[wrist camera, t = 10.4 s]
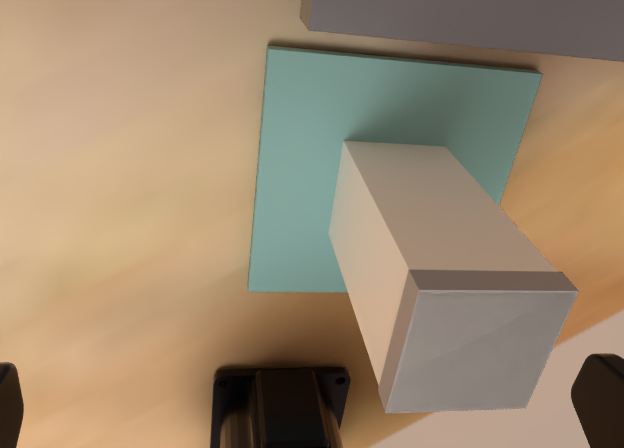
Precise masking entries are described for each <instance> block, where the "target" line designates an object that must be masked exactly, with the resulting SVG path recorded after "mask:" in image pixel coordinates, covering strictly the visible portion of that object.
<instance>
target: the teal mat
mask: <svg viewBox="0 0 624 448" xmlns="http://www.w3.org/2000/svg"><path fill="white" fill-rule="evenodd" d="M542 75H543V74H542V73H540V72H538V71H536V70H528V69H517V68H506V67H495V66H484V65H474V64H463V63H452V62H441V61H430V60H419V59H409V58H398V57H387V56H376V55H365V54H355V53H344V52H333V51H322V50H311V49H301V48H290V47H279V46H268V45H267V55H266V67H265V80H264V92H263V104H262V116H261V128H260V141H259V153H258V165H257V177H256V189H255V202H254V214H253V226H252V238H251V250H250V263H249V275H248V292H348V291H347V288H346V285H345V282H344V279H343V276H342V273H341V270H340V267H339V264H338V261H337V258H336V255H335V252H334V249H333V246H332V243H331V240H330V237H329V234H328V233H329V227H330V220H331V214H332V208H333V202H334V195H335V189H336V183H337V177H338V171H339V164H340V158H341V152H342V146H343V141H360V142H377V143H393V144H410V145H427V146H444V147H446V148H447V149H448V150H449V151H450V152H451V153H452V154H453V156H454V157H455V158H456V159H457V160H458V161H459V162H460V163H461V164H462V166H463V167H464V168H465V169H466V170H467V171H468V172H469V173H470V175H471V176H472V177H473V178H474V179H475V180H476V181H477V182H478V183H479V185H480V186H481V187H482V188H483V189H484V190H485V191H486V192H487V193H488V195H489V196H490V197H491V198H492V199H493V200H494V201H495V202H496V204H497V205H498V206H499V204H500V201H501V198H502V195H503V192H504V189H505V186H506V183H507V180H508V177H509V174H510V171H511V168H512V165H513V162H514V159H515V156H516V153H517V150H518V147H519V144H520V141H521V138H522V135H523V132H524V129H525V126H526V123H527V120H528V117H529V114H530V111H531V108H532V105H533V102H534V99H535V96H536V93H537V90H538V87H539V84H540V81H541V78H542Z"/></svg>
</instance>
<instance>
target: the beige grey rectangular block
mask: <svg viewBox="0 0 624 448" xmlns="http://www.w3.org/2000/svg"><path fill="white" fill-rule="evenodd" d="M328 234H329V237H330V240H331V243H332V246H333V249H334V252H335V255H336V258H337V261H338V264H339V267H340V270H341V273H342V276H343V279H344V282H345V285H346V288H347V291H348V294H349V297H350V300H351V303H352V306H353V309H354V312H355V315H356V318H357V321H358V325H359V328H360V331H361V334H362V337H363V340H364V343H365V346H366V349H367V352H368V355H369V358H370V361H371V364H372V367H373V370H374V373H375V376H376V379H377V382H378V385H379V388H378V393H379V396H380V399H381V402H382V405H383V408H384V411H385V414H387V413H414V412H441V411H464V410H465V411H467V410H493V409H520V408H526V407H527V405H528V402H529V400H530V398H531V396H532V393H533V391H534V389H535V387H536V385H537V382H538V380H539V378H540V376H541V374H542V371H543V369H544V367H545V365H546V363H547V360H548V358H549V356H550V354H551V352H552V349H553V347H554V345H555V343H556V341H557V338H558V336H559V334H560V332H561V330H562V327H563V325H564V323H565V321H566V319H567V316H568V314H569V312H570V310H571V307H572V305H573V303H574V301H575V299H576V296H577V294H578V292H579V291H578V289H577V288H576V287H575V286H574V285H573V284H572V283H571V282H570V281H569V279H568V278H567V277H566V276H565V275H564V274H563V273H562V272H557V270H556V269H555V268H554V267H553V266H552V265H551V264H550V263H549V262H548V260H547V259H546V258H545V257H544V256H543V255H542V254H541V253H540V251H539V250H538V249H537V248H536V247H535V246H534V245H533V244H532V243H531V241H530V240H529V239H528V238H527V237H526V236H525V235H524V234H523V233H522V231H521V230H520V229H519V228H518V227H517V226H516V225H515V224H514V222H513V221H512V220H511V219H510V218H509V217H508V216H507V215H506V214H505V212H504V211H503V210H502V209H501V208H500V207H499V206H498V205H497V204H496V202H495V201H494V200H493V199H492V198H491V197H490V196H489V195H488V193H487V192H486V191H485V190H484V189H483V188H482V187H481V186H480V185H479V183H478V182H477V181H476V180H475V179H474V178H473V177H472V176H471V175H470V173H469V172H468V171H467V170H466V169H465V168H464V167H463V166H462V164H461V163H460V162H459V161H458V160H457V159H456V158H455V157H454V156H453V154H452V153H451V152H450V151H449V150H448V149H447V148H446V147H444V146H427V145H410V144H393V143H377V142H360V141H343V146H342V152H341V158H340V164H339V171H338V177H337V183H336V189H335V195H334V202H333V208H332V214H331V220H330V227H329V233H328Z"/></svg>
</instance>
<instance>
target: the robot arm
mask: <svg viewBox="0 0 624 448" xmlns="http://www.w3.org/2000/svg"><path fill="white" fill-rule="evenodd" d="M339 377H341V378H339ZM337 378H338V379H337ZM222 380H227V381H222ZM349 385H350V375H349V372H348V370H347V369H345V368H342V367H327V368H275V369H225V370H220V371H218V372H217V373H216V374H215V375H214V379H213V400H212V420H211V441H210V448H343V446H342V441H341V437H340V432H339V430H340V426H341V421H342V417H343V412H344V407H345V403H346V398H347V394H348V389H349ZM571 399H572V403H573V405H574V408H575V410H576V413H577V415H578V418H579V420H580V423H581V425H582V428H583V430H584V433H585V435H586V438H587V440H588V443H589V445H590V448H624V359H623V358H621V357H620V356H617V355H615V354H591V355H590V356H588V357H587V358H586V360H585V362H584V364H583V366H582V368H581V370H580V372H579V374H578V376H577V378H576V380H575V382H574V384H573V386H572V389H571ZM23 412H24V404H23V398H22V393H21V388H20V383H19V377H18V372H17V369H16V367H15V365H14V364H12V363H9V362H4V363H0V448H16V446H17V442H18V437H19V433H20V429H21V424H22V420H23Z"/></svg>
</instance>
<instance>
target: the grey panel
mask: <svg viewBox="0 0 624 448" xmlns="http://www.w3.org/2000/svg"><path fill="white" fill-rule="evenodd" d="M300 18H301V20H302V21H303V23H304V24H305V26H306V27H307V29H308V30H309V31H319V32H329V33H339V34H349V35H359V36H369V37H380V38H390V39H400V40H410V41H420V42H430V43H440V44H450V45H460V46H470V47H480V48H491V49H501V50H511V51H521V52H531V53H541V54H551V55H561V56H571V57H581V58H592V59H602V60H612V61H622V62H624V0H302V3H301V12H300Z"/></svg>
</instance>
